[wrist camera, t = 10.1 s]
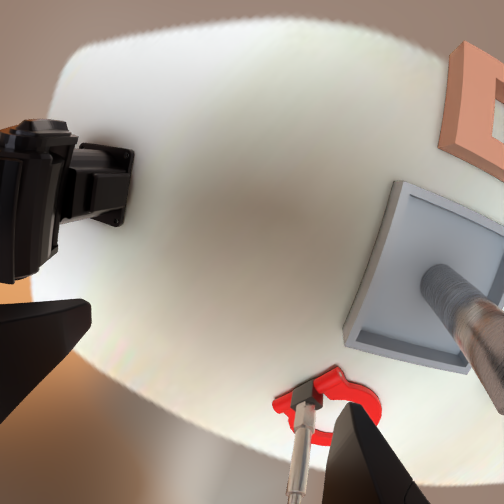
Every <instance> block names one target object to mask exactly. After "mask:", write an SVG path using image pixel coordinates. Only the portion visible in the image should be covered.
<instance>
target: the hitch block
mask: <svg viewBox="0 0 504 504" xmlns="http://www.w3.org/2000/svg"><path fill="white" fill-rule="evenodd" d="M495 99H497V100H498V101H500V102H502V103H503V104H504V64H503V63H502V62H500V61H499V60H497V59H495V58H494V57H492V56H491V55H489V54H487V53H486V52H484V51H482V50H480V49H479V48H477V47H475V46H474V45H472V44H470V43H468V42H466V41H463V42H462V43H461V44H460V45H459V46H458V47H457V48H456V49H455V50H454V51H453V52H452V53H451V54H450V55H449V70H448V82H447V91H446V100H445V107H444V114H443V121H442V127H441V133H440V138H439V143H438V148H439V149H441V150H443V151H445V152H448V153H450V154H452V155H454V156H456V157H458V158H460V159H462V160H464V161H466V162H468V163H470V164H472V165H474V166H476V167H478V168H480V169H481V170H483V171H485V172H487V173H489V174H490V175H492V176H494V177H496V178H497V179H499V180H501V181H503V182H504V144H503V143H502V142H500V141H498V140H497V139H495V138H493V137H492V129H493V120H494V108H495Z"/></svg>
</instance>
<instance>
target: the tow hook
mask: <svg viewBox="0 0 504 504" xmlns="http://www.w3.org/2000/svg"><path fill="white" fill-rule="evenodd" d="M323 393H324V394H325V395H326V396H327V397H328V398H329V399H330V400H347V401H352V402H354V403H358V404H361V405H362V406H363V408H364V409H365V411H366V412H367V413H368V415H369V416H370V418H371V419H372V421H373V422H374V424H375V425H376V426H377V425H378V423H379V421H380V419H381V413H382V408H381V403H380V401H379V399H378V396H377V395H376V394H375V393H374V392H373V391H372V390H370V389H368V388H366V387H364V386H362V385H358V384H353V383H349V382H348V381H347V380H346V379H345V376H344V374H343V372H342V370H341V369H340V368H339V367H336V368H334V369H332V370H331V371H329V372H327V373H325V374H324V375H322V376H320V377H318V378H316V379H312V380H310V381H308V382H306V383H305V384H303V385H301V386H299V387H297V388H295V389H294V390H293V391H292V392H290V393H288V394H286V395H284V396H282V397H280V398H278V399H275V400H274V401H273V402H272V406H273V409H274V410H275V411H276V412H277V413H279V414H280V413H284V414H286V415H287V416H288V417H289V419H288V422H289V425H290V428H291V430H292V431H293V432H294V434H295V440H294V447H293V453H292V459H291V466H290V472H289V478H288V483H287V489H286V496H288V503H287V504H301V498H302V497H303V496H305V493H306V486H307V477H308V469H309V459H310V449H311V444H316V445H321V446H331V441H332V436H333V433H325V432H320V431H318V430H315V419H316V410H318V409H320V408H322V407H323Z"/></svg>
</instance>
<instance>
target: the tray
mask: <svg viewBox="0 0 504 504" xmlns="http://www.w3.org/2000/svg"><path fill="white" fill-rule="evenodd" d="M436 264H446V265H448V266H450V267H451V268H452V269H453V270H455V271H456V272H457V273H459V274H460V275H461V276H462V277H464V278H465V279H466V280H467V281H469V282H470V283H471V284H472V285H473V286H475V287H476V288H477V289H478V290H480V291H481V292H482V293H483V294H484V295H485V296H487V297H488V298H489V299H490V300H491V301H492V302H494V303H495V304H496V305H497V306H498V307H499V308H500V309H501V310H502V309H503V306H504V226H502V225H500V224H498V223H497V222H495V221H493V220H491V219H489V218H487V217H485V216H483V215H481V214H479V213H477V212H475V211H473V210H471V209H468V208H466V207H464V206H462V205H460V204H458V203H455V202H453V201H451V200H449V199H447V198H444V197H442V196H440V195H437V194H435V193H433V192H430V191H428V190H425V189H423V188H420V187H418V186H415V185H413V184H410V183H408V182H405V181H394V182H393V186H392V190H391V193H390V197H389V201H388V204H387V207H386V211H385V214H384V217H383V221H382V224H381V227H380V230H379V233H378V237H377V240H376V243H375V246H374V249H373V251H372V254H371V257H370V260H369V263H368V266H367V268H366V271H365V274H364V277H363V279H362V282H361V285H360V287H359V290H358V292H357V295H356V297H355V300H354V302H353V305H352V307H351V310H350V312H349V315H348V317H347V319H346V322H345V324H344V326H343V340H344V346H346V347H349V348H353V349H357V350H360V351H364V352H368V353H372V354H376V355H380V356H384V357H388V358H392V359H396V360H400V361H404V362H408V363H413V364H417V365H422V366H426V367H431V368H435V369H440V370H445V371H450V372H455V373H460V374H465V375H467V374H468V372H469V370H470V369H471V365H470V363H469V362H468V360H467V359H466V357H465V356H464V354H463V353H462V351H461V350H460V348H459V347H458V345H457V344H456V342H455V341H454V339H453V338H452V336H451V335H450V334H449V332H448V331H447V329H446V328H445V326H444V325H443V324H442V322H441V321H440V319H439V318H438V317H437V315H436V314H435V313H434V311H433V310H432V309H431V307H430V306H429V305H428V303H427V302H426V301H425V299H424V298H423V297H422V295H421V291H420V283H421V279H422V277H423V275H424V273H425V272H426V271H427V270H428V269H429V268H430V267H432V266H433V265H436Z"/></svg>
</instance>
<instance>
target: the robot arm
mask: <svg viewBox="0 0 504 504" xmlns="http://www.w3.org/2000/svg"><path fill="white" fill-rule="evenodd" d="M78 137H79V136H75V135H72V134H71V132H69V130H68V128H67V124H66V122H64V121H60V120H51V119H29V120H24V121H22V122H21V123H20V124H19V125H15V126H12V127H8V128H5V129H1V130H0V283H5V284H14V283H15V280H20V279H24V278H26V277H28V276H31V275H33V274H36V273H37V272H38V271H39V267H40V266H41V265H43V264H44V263H45V262H46V261H47V260H49V259H50V258H51V257H52V256H54V255H55V254H56V253H57V252H58V244H57V242H58V233H59V225H61V224H65V223H69V222H74V221H78V220H82V219H87V218H91V219H94V220H97V221H100V222H102V223H105V224H108V225H111V226H114V227H119V226H121V225H122V224H123V219H124V211H125V205H126V199H127V193H128V187H129V181H130V174H131V168H132V163H133V158H134V152H133V151H132V150H130V149H124V148H118V147H111V146H104V145H97V144H90V143H82V144H80V146H79V149H74V147H75V144H77V141H78ZM127 154H129V156H128V158H127ZM117 219H118V223H117ZM91 323H92V318H91V305H90V303H89V302H87V301H85V300H84V299H68V300H56V301H43V302H30V303H15V304H0V424H1V423H2V422H3V421H4V420H5V419H6V417H8V415H9V414H10V413H11V412H12V411H13V410H14V409H15V408H16V407H17V406H18V405H19V403H20V402H22V401H23V399H24V398H25V397H26V396H27V395H28V394H29V393H30V392H31V391H32V390H33V389H34V388H35V387H36V386H37V385H38V384H39V383H40V382H41V381H42V380H43V379H44V378H45V377H46V376H47V375H48V374H49V373H50V372H51V371H52V370H53V369H54V368H55V367H56V366H57V365H58V364H59V363H60V362H61V361H62V360H63V359H64V358H65V357H66V356H67V355H68V354H69V352H70V351H71V350H72V349H73V348H74V346H75V345H76V344H77V343H78V342H79V340H80V339H81V338H82V337H83V336H84V334H85V333H86V332H87V331H88V330H89V328H90V327H91ZM322 504H430V502H429V501H428V500H427V499H426V497H425V496H424V494H423V493H422V492H421V490H420V489H419V487H418V486H417V485H416V483H415V482H414V481H413V479H412V477H411V476H410V474H409V473H408V472H407V470H406V469H405V467H404V466H403V464H402V463H401V461H400V460H399V458H398V457H397V456H396V454H395V453H394V451H393V450H392V448H391V447H390V445H389V444H388V442H387V441H386V440H385V438H384V437H383V435H382V434H381V432H380V431H379V429H378V428H377V427H376V425H375V424H374V422H373V421H372V419H371V418H370V416H369V415H368V413H367V412H366V411H365V409H364V408H363V406H362V405H361V404H358V403H354V402H348V403H347V404H346V406H345V407H344V409H343V410H342V412H341V413H340V415H339V417H338V418H337V420H336V422H335V426H334V431H333V436H332V441H331V446H330V450H329V455H328V460H327V464H326V473H325V483H324V491H323V499H322Z"/></svg>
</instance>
